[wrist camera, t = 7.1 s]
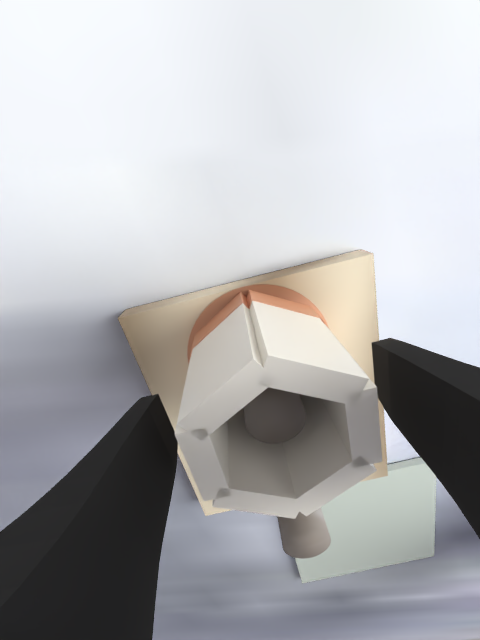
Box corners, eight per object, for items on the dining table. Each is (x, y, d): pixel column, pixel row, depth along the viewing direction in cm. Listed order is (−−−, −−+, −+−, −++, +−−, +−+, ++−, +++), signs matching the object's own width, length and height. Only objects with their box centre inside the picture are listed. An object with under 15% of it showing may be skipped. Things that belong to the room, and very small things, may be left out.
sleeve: (350, 348, 12) (427, 438, 8) (252, 425, 14) (267, 542, 9) (271, 263, 11) (307, 311, 6) (168, 359, 12) (135, 459, 7)
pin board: (361, 249, 12) (450, 280, 7) (378, 460, 16) (439, 562, 12) (125, 309, 12) (66, 375, 8) (206, 498, 17) (200, 611, 12)
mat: (431, 454, 16) (436, 460, 16) (430, 549, 20) (434, 556, 20) (276, 489, 17) (277, 495, 16) (300, 576, 20) (302, 583, 20)
